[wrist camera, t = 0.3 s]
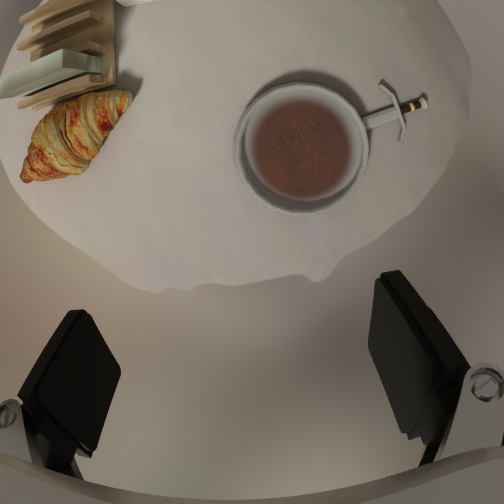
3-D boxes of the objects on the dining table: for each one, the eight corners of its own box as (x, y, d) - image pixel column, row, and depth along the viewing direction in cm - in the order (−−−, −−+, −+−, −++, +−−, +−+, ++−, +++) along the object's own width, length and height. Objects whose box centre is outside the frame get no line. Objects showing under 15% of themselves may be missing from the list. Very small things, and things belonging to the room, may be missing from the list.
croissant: (136, 78, 33) (105, 51, 25) (154, 133, 33) (119, 108, 25) (35, 158, 37) (0, 147, 29) (44, 212, 36) (5, 207, 28)
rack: (36, 23, 23) (-8, 14, 14) (116, -10, 23) (80, -36, 14) (36, 110, 30) (-12, 118, 21) (116, 85, 30) (74, 81, 21)
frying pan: (448, 159, 33) (270, 240, 38) (436, 155, 36) (268, 231, 41) (409, 43, 26) (206, 118, 31) (399, 46, 29) (209, 117, 33)
